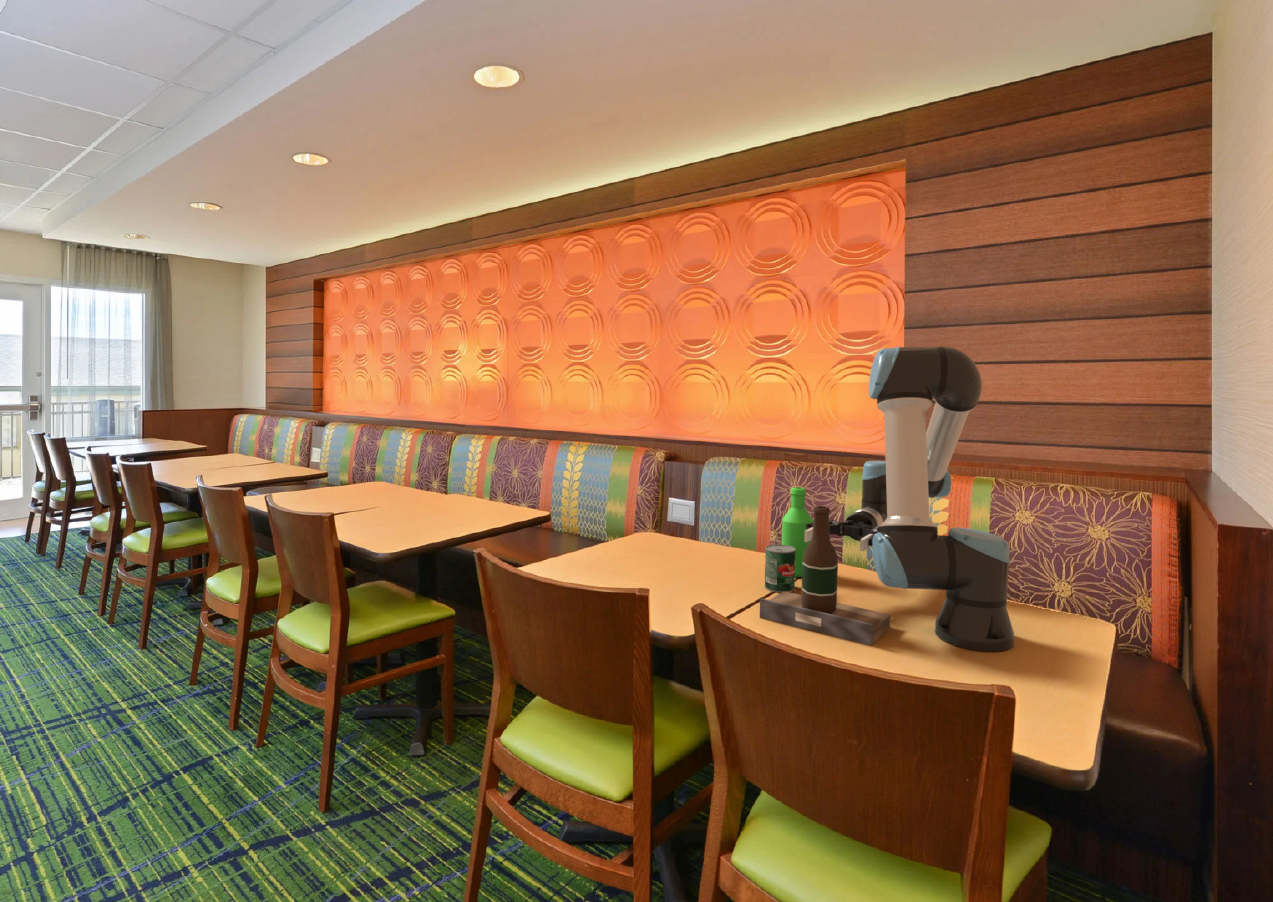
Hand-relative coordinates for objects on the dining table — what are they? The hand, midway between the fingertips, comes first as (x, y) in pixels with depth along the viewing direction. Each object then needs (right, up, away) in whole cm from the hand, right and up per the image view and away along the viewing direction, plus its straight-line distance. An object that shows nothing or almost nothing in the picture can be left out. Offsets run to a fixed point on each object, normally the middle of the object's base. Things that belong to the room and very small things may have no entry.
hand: (833, 540), depth 153 cm
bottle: (0, -14, +33) cm, 36 cm away
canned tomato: (-8, -16, +20) cm, 27 cm away
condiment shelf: (-3, -18, -4) cm, 19 cm away
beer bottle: (-5, -15, -5) cm, 17 cm away
